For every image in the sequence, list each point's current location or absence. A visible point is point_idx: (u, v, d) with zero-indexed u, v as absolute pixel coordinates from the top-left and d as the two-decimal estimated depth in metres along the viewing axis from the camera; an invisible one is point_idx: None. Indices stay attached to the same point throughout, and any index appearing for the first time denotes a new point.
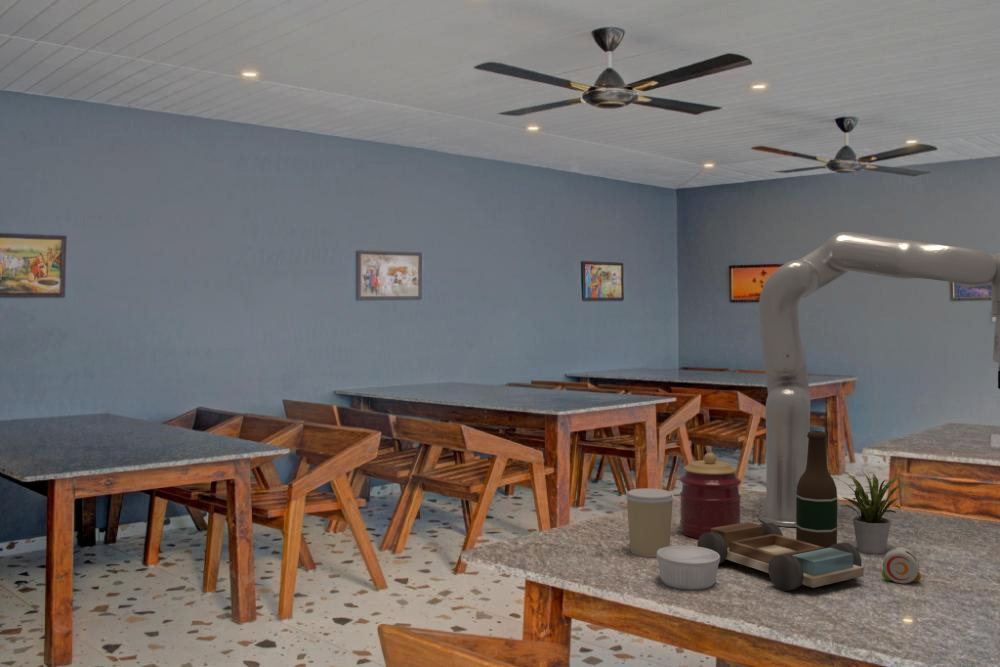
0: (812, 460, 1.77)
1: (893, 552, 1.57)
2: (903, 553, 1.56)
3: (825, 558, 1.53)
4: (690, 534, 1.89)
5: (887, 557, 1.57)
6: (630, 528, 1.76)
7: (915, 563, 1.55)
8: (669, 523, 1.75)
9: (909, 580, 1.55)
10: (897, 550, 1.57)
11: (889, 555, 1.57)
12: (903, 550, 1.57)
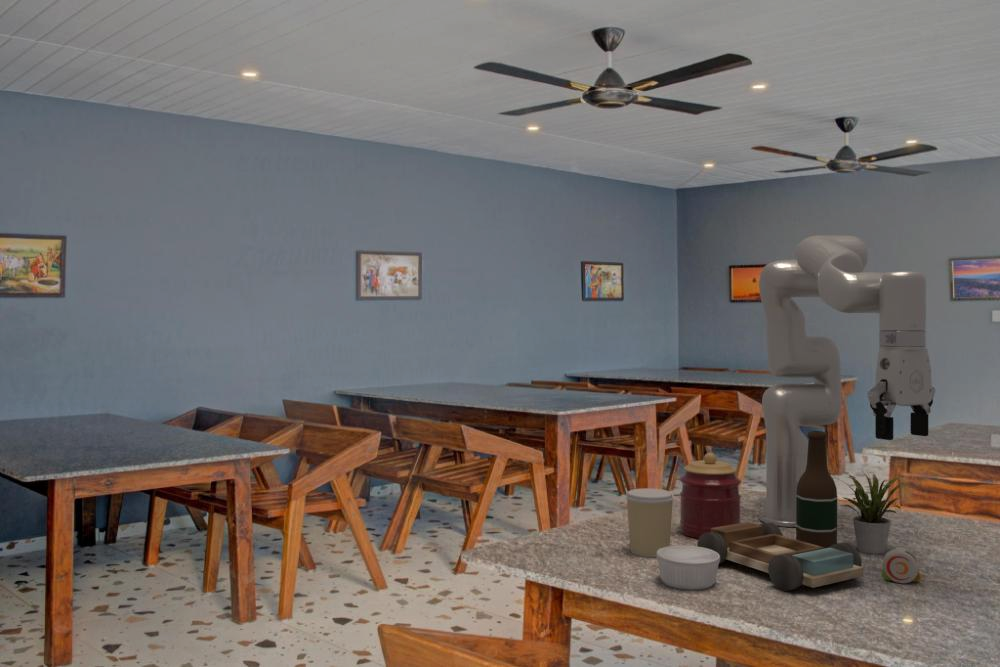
0: (812, 460, 1.77)
1: (893, 552, 1.57)
2: (903, 553, 1.56)
3: (825, 558, 1.53)
4: (690, 534, 1.89)
5: (887, 557, 1.57)
6: (630, 528, 1.76)
7: (915, 563, 1.55)
8: (669, 523, 1.75)
9: (909, 580, 1.55)
10: (897, 550, 1.57)
11: (889, 555, 1.57)
12: (903, 550, 1.57)
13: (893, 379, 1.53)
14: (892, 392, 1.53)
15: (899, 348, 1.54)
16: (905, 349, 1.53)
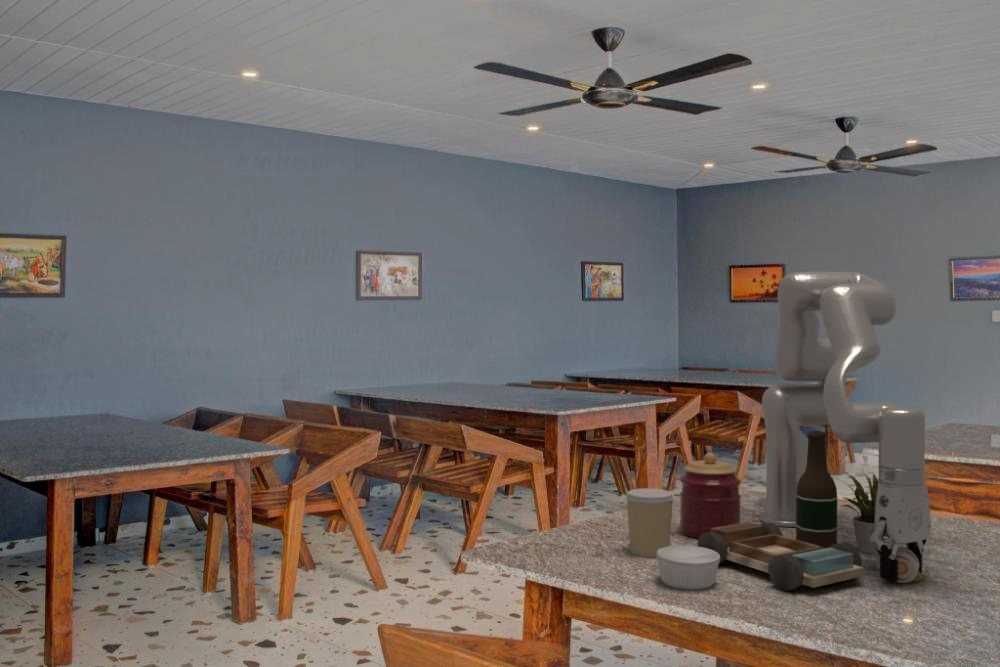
0: (812, 460, 1.77)
1: None
2: (903, 553, 1.56)
3: (825, 558, 1.53)
4: (690, 534, 1.89)
5: None
6: (630, 528, 1.76)
7: (915, 563, 1.55)
8: (669, 523, 1.75)
9: (909, 580, 1.55)
10: (898, 550, 1.57)
11: None
12: (903, 550, 1.57)
13: (892, 518, 1.53)
14: (891, 531, 1.53)
15: (898, 486, 1.54)
16: (904, 488, 1.54)
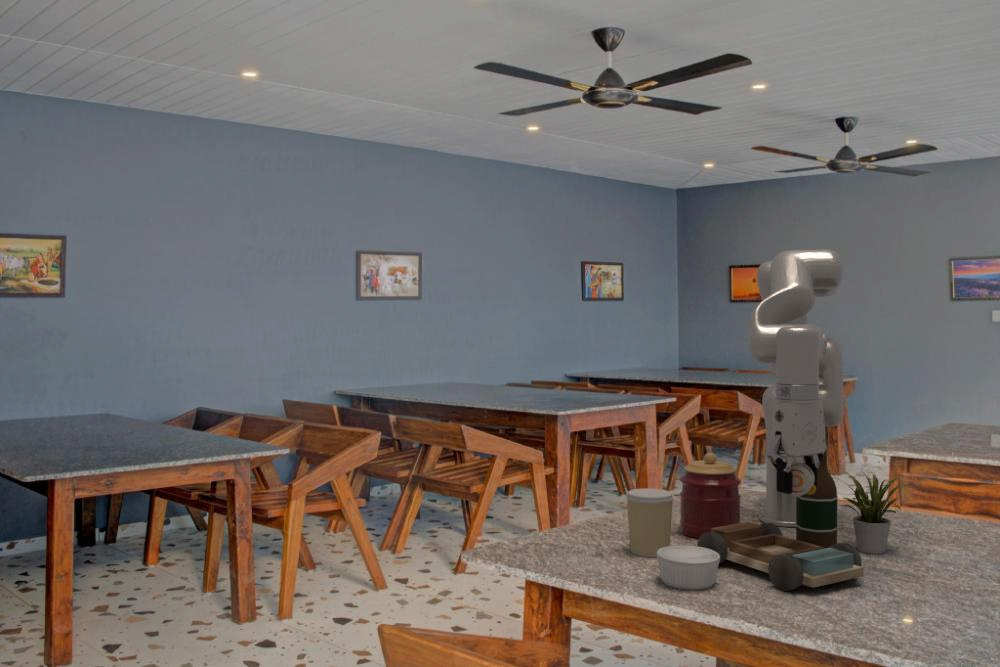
0: None
1: None
2: (799, 466, 1.61)
3: (825, 558, 1.53)
4: (690, 534, 1.89)
5: None
6: (630, 528, 1.76)
7: (809, 475, 1.60)
8: (669, 523, 1.75)
9: (804, 492, 1.61)
10: (793, 464, 1.62)
11: None
12: (799, 464, 1.62)
13: (786, 432, 1.59)
14: (785, 444, 1.59)
15: (792, 401, 1.60)
16: (798, 402, 1.59)
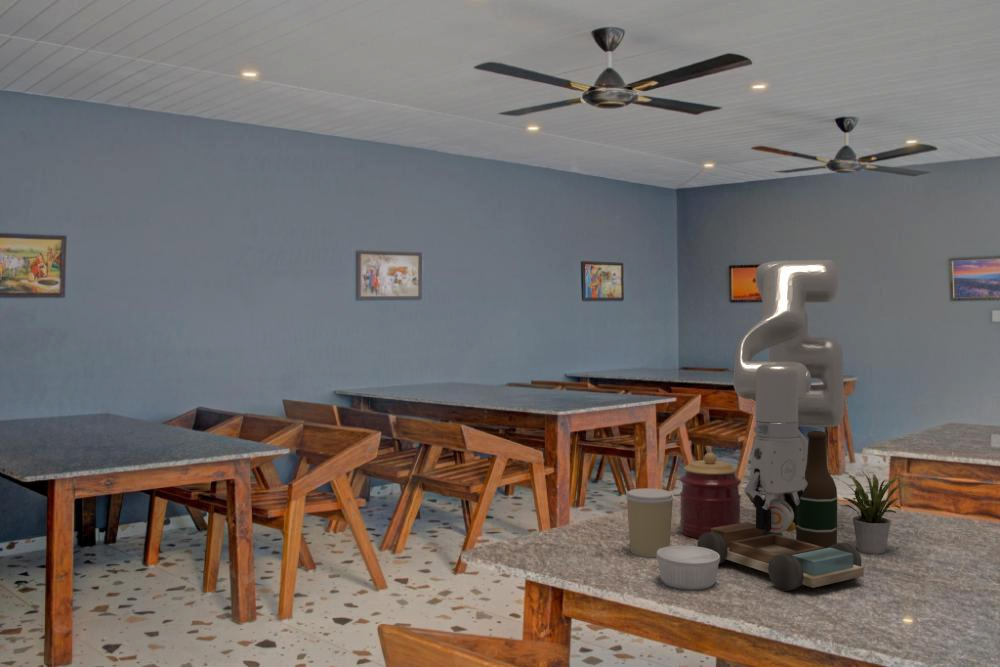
0: (812, 460, 1.77)
1: None
2: (777, 503, 1.62)
3: (825, 558, 1.53)
4: (690, 534, 1.89)
5: None
6: (630, 528, 1.76)
7: (788, 513, 1.62)
8: (669, 523, 1.75)
9: (782, 529, 1.62)
10: (772, 501, 1.63)
11: None
12: (778, 501, 1.63)
13: (764, 469, 1.60)
14: (764, 482, 1.60)
15: (771, 439, 1.61)
16: (776, 440, 1.61)
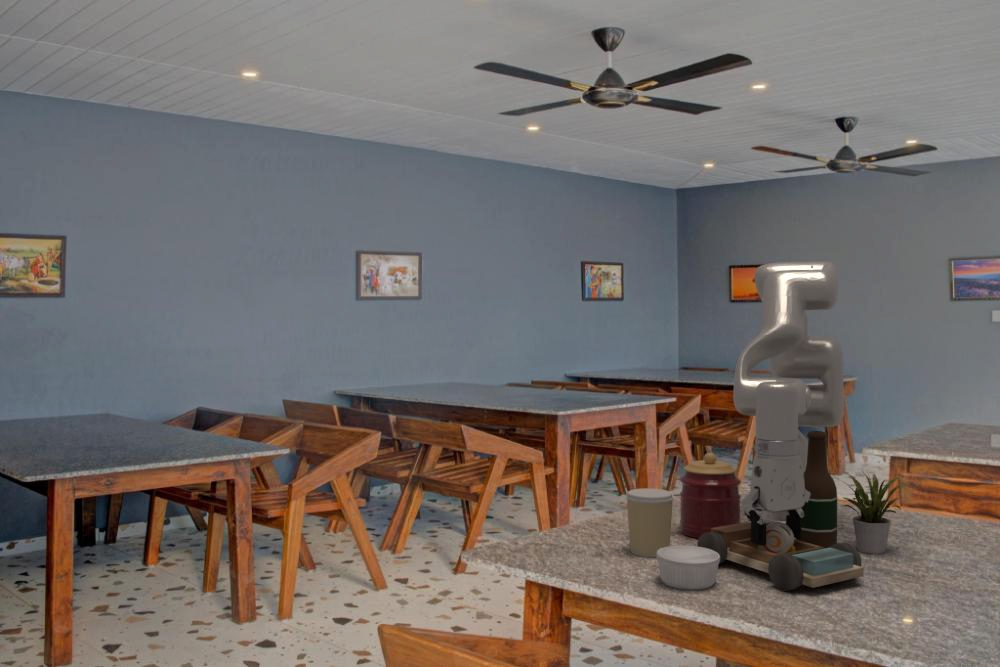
0: (812, 460, 1.77)
1: (767, 525, 1.64)
2: (777, 527, 1.63)
3: (825, 558, 1.53)
4: (690, 534, 1.89)
5: None
6: (630, 528, 1.76)
7: (787, 536, 1.62)
8: (669, 523, 1.75)
9: (782, 553, 1.62)
10: (772, 524, 1.63)
11: None
12: (778, 524, 1.64)
13: (764, 487, 1.60)
14: (764, 500, 1.60)
15: (771, 457, 1.61)
16: (776, 458, 1.61)
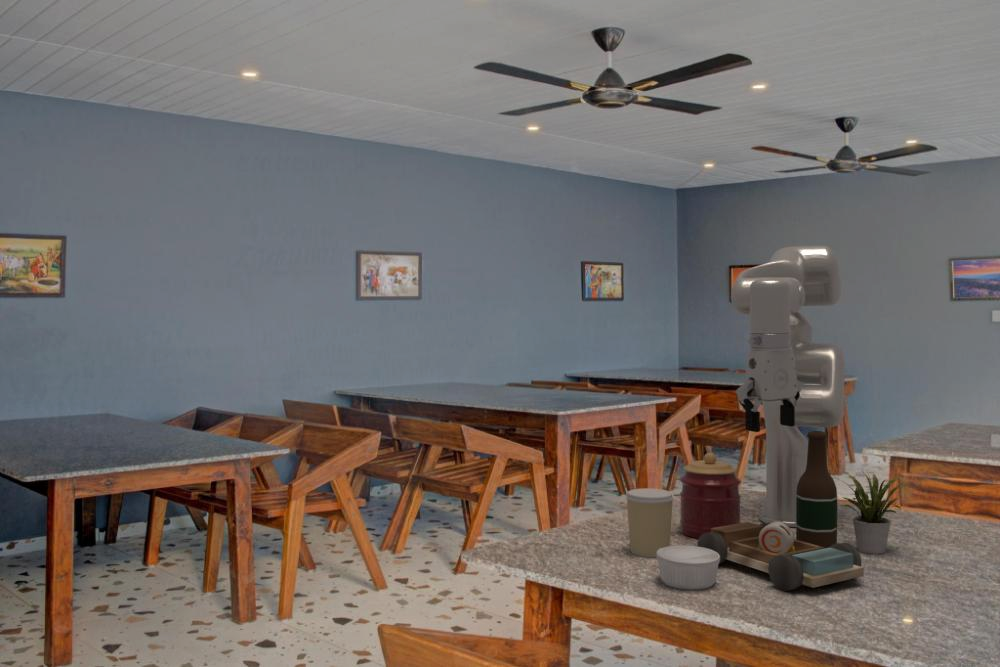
0: (812, 460, 1.77)
1: (767, 526, 1.64)
2: (776, 527, 1.63)
3: (825, 558, 1.53)
4: (690, 534, 1.89)
5: (762, 531, 1.64)
6: (630, 528, 1.76)
7: (787, 536, 1.62)
8: (669, 523, 1.75)
9: (781, 553, 1.62)
10: (772, 525, 1.63)
11: (764, 529, 1.64)
12: (777, 524, 1.64)
13: (758, 378, 1.70)
14: (758, 389, 1.70)
15: (765, 349, 1.70)
16: (770, 350, 1.70)
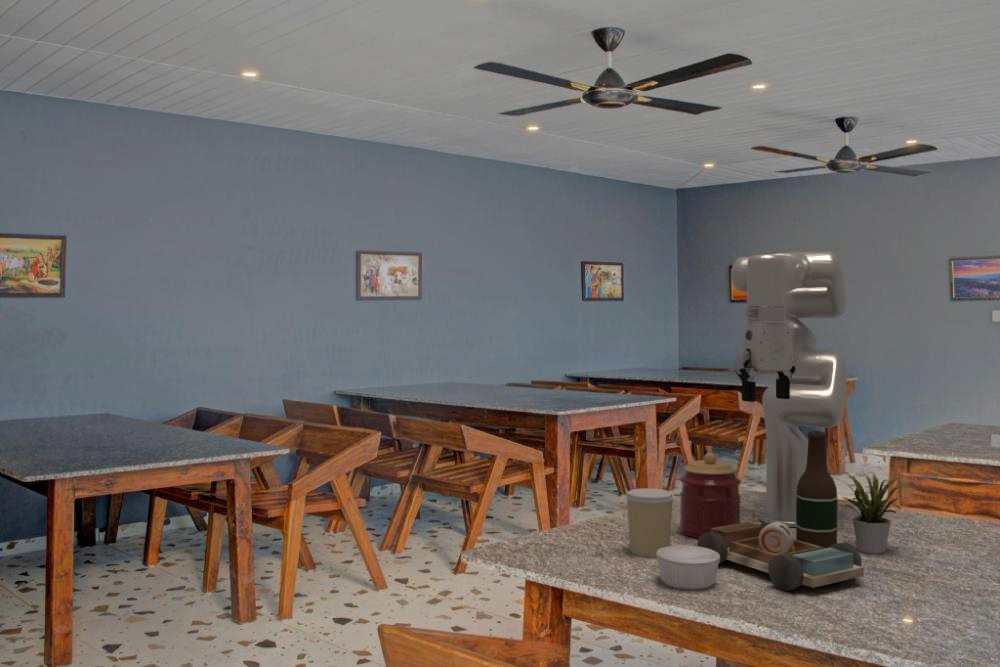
0: (812, 460, 1.77)
1: (767, 526, 1.64)
2: (777, 527, 1.63)
3: (825, 558, 1.53)
4: (690, 534, 1.89)
5: (762, 531, 1.64)
6: (630, 528, 1.76)
7: (787, 536, 1.62)
8: (669, 523, 1.75)
9: (781, 553, 1.62)
10: (772, 525, 1.63)
11: (764, 529, 1.64)
12: (777, 524, 1.64)
13: (755, 349, 1.75)
14: (754, 360, 1.75)
15: (761, 321, 1.76)
16: (766, 322, 1.75)
